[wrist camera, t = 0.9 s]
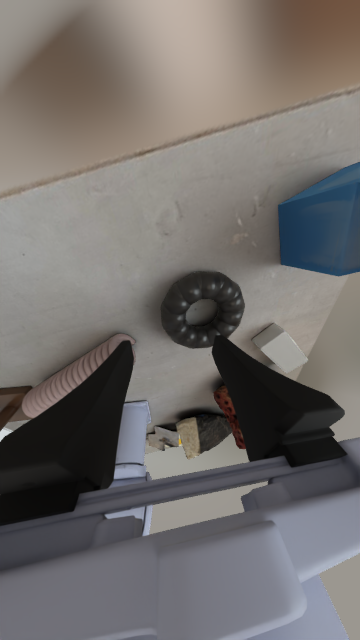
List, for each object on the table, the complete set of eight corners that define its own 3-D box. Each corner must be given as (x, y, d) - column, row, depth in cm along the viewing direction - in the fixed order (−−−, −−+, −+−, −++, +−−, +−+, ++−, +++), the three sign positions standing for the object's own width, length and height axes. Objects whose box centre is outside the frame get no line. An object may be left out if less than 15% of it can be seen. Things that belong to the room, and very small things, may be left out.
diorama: (161, 420, 33) (163, 413, 35) (140, 439, 37) (143, 432, 39) (187, 440, 33) (188, 432, 34) (163, 457, 37) (165, 450, 39)
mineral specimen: (173, 447, 27) (247, 435, 26) (173, 408, 33) (232, 397, 32) (185, 464, 33) (245, 456, 32) (183, 429, 39) (233, 421, 38)
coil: (46, 422, 20) (140, 370, 17) (7, 416, 17) (110, 353, 14) (63, 391, 24) (142, 343, 20) (32, 382, 21) (118, 325, 18)
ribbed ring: (227, 336, 21) (236, 350, 19) (162, 340, 20) (163, 355, 18) (245, 269, 16) (261, 275, 13) (159, 269, 15) (158, 275, 12)
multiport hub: (259, 349, 20) (250, 339, 22) (286, 373, 25) (277, 364, 27) (285, 330, 19) (274, 322, 21) (308, 360, 24) (297, 351, 26)
